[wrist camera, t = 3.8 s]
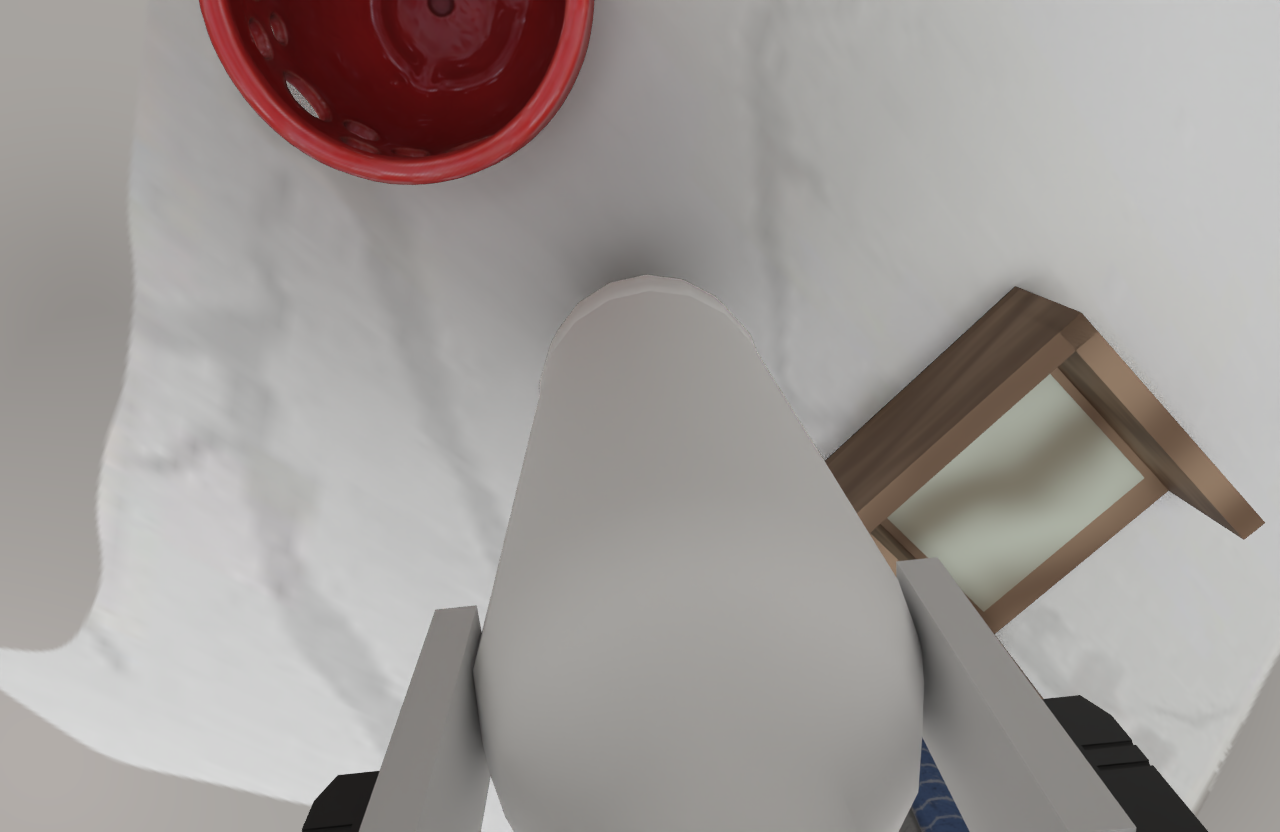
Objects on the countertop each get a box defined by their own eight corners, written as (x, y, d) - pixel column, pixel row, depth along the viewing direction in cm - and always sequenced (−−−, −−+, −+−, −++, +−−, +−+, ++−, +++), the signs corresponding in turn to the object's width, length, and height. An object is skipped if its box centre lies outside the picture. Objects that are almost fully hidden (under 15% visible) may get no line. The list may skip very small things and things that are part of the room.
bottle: (793, 332, 34) (1791, 1530, 5) (692, 504, 36) (1017, 2020, 7) (602, 233, 32) (555, 1138, 4) (509, 418, 34) (36, 1882, 6)
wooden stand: (804, 480, 48) (833, 533, 42) (1015, 286, 45) (1081, 312, 39) (973, 641, 51) (1024, 714, 45) (1180, 471, 48) (1265, 523, 42)
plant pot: (255, -90, 39) (108, -179, 27) (543, -191, 38) (515, -326, 27) (371, 205, 43) (285, 235, 31) (635, 119, 42) (644, 117, 31)
